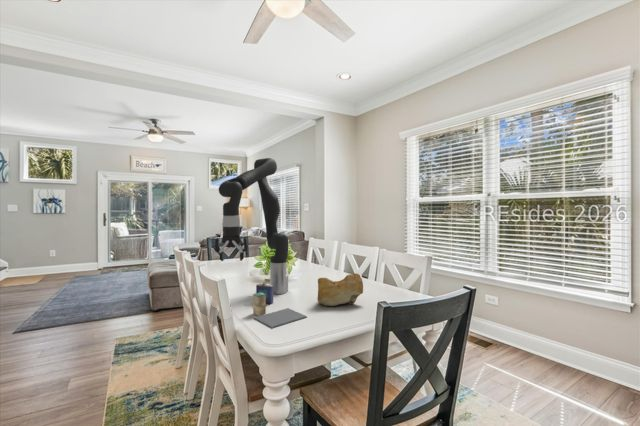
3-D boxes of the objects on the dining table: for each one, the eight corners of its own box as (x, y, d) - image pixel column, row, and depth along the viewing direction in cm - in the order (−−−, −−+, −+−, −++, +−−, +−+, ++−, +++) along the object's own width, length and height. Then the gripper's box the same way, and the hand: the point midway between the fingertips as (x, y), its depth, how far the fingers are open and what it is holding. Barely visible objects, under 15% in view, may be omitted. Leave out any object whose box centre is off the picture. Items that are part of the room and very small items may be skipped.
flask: (274, 302, 155) (273, 281, 155) (271, 304, 152) (271, 283, 152) (257, 301, 158) (257, 280, 157) (254, 302, 155) (254, 281, 155)
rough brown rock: (357, 297, 166) (355, 270, 167) (365, 305, 150) (364, 274, 150) (314, 301, 163) (313, 272, 164) (318, 309, 146) (317, 277, 147)
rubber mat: (287, 309, 145) (287, 308, 145) (306, 317, 135) (306, 316, 135) (254, 318, 133) (254, 317, 133) (271, 328, 123) (271, 326, 123)
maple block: (261, 311, 142) (260, 292, 142) (265, 313, 139) (265, 294, 139) (253, 313, 140) (253, 293, 139) (257, 315, 137) (257, 295, 136)
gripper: (248, 224, 145) (248, 258, 145) (217, 225, 144) (218, 259, 144) (245, 225, 137) (246, 261, 138) (213, 226, 136) (213, 262, 137)
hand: (231, 260), depth 141 cm, fingers open, 8 cm apart
